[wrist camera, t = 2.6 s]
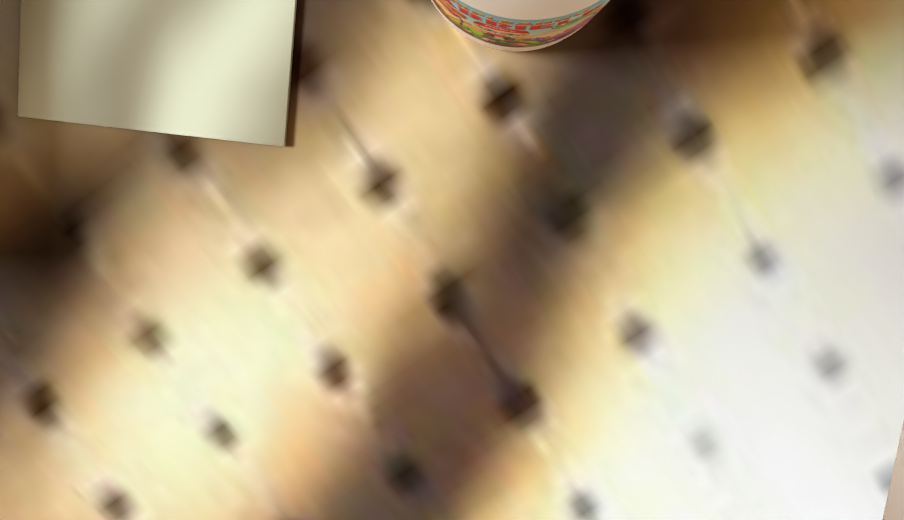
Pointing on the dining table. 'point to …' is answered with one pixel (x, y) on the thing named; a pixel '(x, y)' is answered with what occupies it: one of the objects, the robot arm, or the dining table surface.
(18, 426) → the dining table surface
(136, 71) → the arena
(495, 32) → the milk bottle
